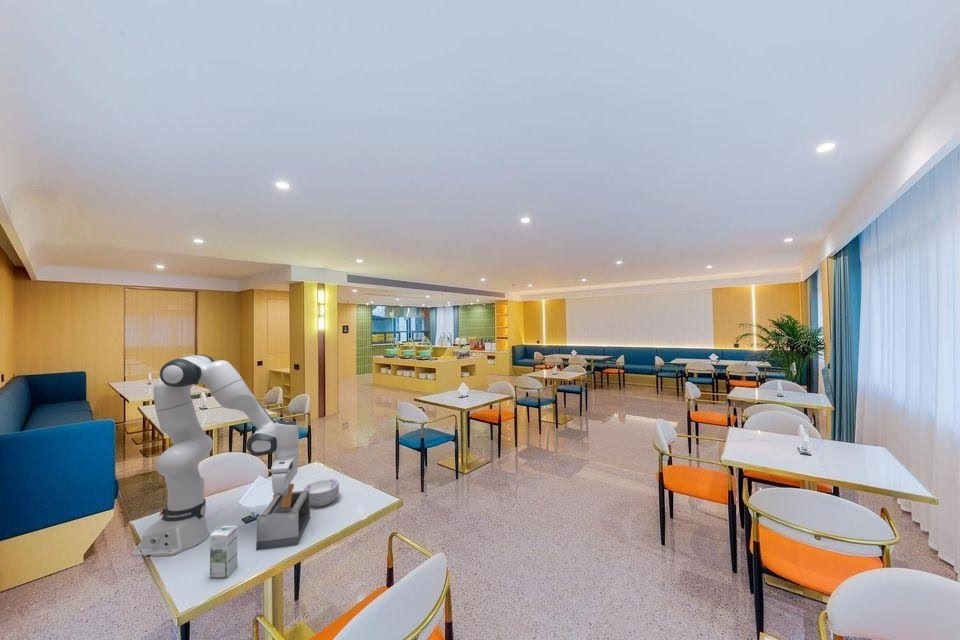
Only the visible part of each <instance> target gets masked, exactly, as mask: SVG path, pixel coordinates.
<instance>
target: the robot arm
mask: <svg viewBox="0 0 960 640" xmlns="http://www.w3.org/2000/svg"><path fill="white" fill-rule="evenodd" d="M159 378H160V381H158V382H157V383H156V384H155V385H154V387H153V402H154V403H153V404H154V410H155V413H156V416H157V420H158V426H159V428H160V431H161V432H162V433H164V434H165V435H167V436H168V438H169V439H170V440H171V442H172V446H170V447H168V448H166V449H165V450H164V451H163V452H162V453H161V454H160V456H159V457H158V458H157V459H156V462H155V470H156V471H157V473H158V474H159V475H160V476H161V477H163V478H164V481H165V484H166V489H167V505H166V507H164V508H163V509H162V511H160V512H159V517H161V516H162V517H161V518H160V519H159V520H157V521H156V522H154V523H153V524H152V525H151V526H150V527H149V528H148V529H146V530H145V532H144V533H143V535H142V536H141V541H140V543H138V544H137V545H138V546H139V548H140V550H141V551H142V553H141V552H140V550H139V548H138V546H137V545H136V546H135V547H134V548H133V550H132V551H131V557H148V556H147V555H151V556H150V557H163V556H164V557H167V556H168V557H169V556H174V555H176V554H179V553H180V552H183V551H185V550H187V549H190V548H193V547H195V546H197V545H199V544H201V543H202V542H204V541H205V540H207V538H208V537H210V532H209V530H208V527H207V526H208V525H207V522H206V512H207V509H206V507H207V505H206V502H207V501H206V499H205V479H204V478H203V477H201V474H200V470H199V464H200V463H201V462H202V461H203V460H205V458H207V457H208V456H209V454H210V453H211V451H212V450H213V447H214V440H213V439H212V437H211V436H210V435H208V434H206V432H205V431H204V429H203V428H202V426H201V424H200V422H199V419H198V417H197V414H196V410H195V406H194V405H195V404H194V402H193V399H192V395H191V394H192V393H191V388H192V387H193V386H194V385H195V386H196V385H199V384H200V383H201V384H204V385H205V386H206V387H207V389H208V390H209V392H210V393H211V395H212V396H213V398H214V400H215V401H216V402H217V403H218V404H219V405H220V406H221V407H222V408H225V409H227V410H228V409H229V410H235V411H239V412H242V413H243V414H245V415H246V416H247V417H248V419H249V420H250V422H252V424H253V426H254V427H255V428H256V429H257V431H255V432H254V433H252V434H251V435H250V437H248V439H247V440H246V449H247V451H248V453H249V454H251V455H253V456H255V457H261V456H267V455H269V454H273V462H272V465H271V468H270V473H271V474H272V476H271V482H272V483H271V484H272V486H271V487H272V492H273V495H274V494H279V493H283V496H287V495H288V493H289V488H290V484H291V483H292V481H293V479H294V478H295V477H296V475H297V474H298V464H299V454H300V453H299V447H298V445H299V441H300V438H299V437H300V435H299V434H300V433H299V426H298V423H297V422H296V421H294V420H291V419H279V420H277V421H275V420H274V419H273V418H272V417H271V416H270V415H269V413H268V411H267V410H266V409H265V408H264V407H263V405H262V404H261V403H260V401H259V400H258V398H256V397H255V395H254V394H253V393H252V392H251V390H250V388H249V387H248V385H247V383H246V382H245V381H244V379H243V377H242V376H241V375H240V373H239V371H238V370H237V369H236V368H235V367H234V366H233V365H232V364H231V363H230V362H229V361H227V360H222V359H221V360H220V359H219V360H215V359H214V358H213V357H211V356H209V355H207V354H206V355H205V354H197V355H195V354H194V355H186V356H183V357H180V358H174V359H172V360H169V361H168V362H166V363H165V364H163V366H161V368H160V371H159ZM143 552H144V553H143ZM142 554H143V556H142Z"/></svg>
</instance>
